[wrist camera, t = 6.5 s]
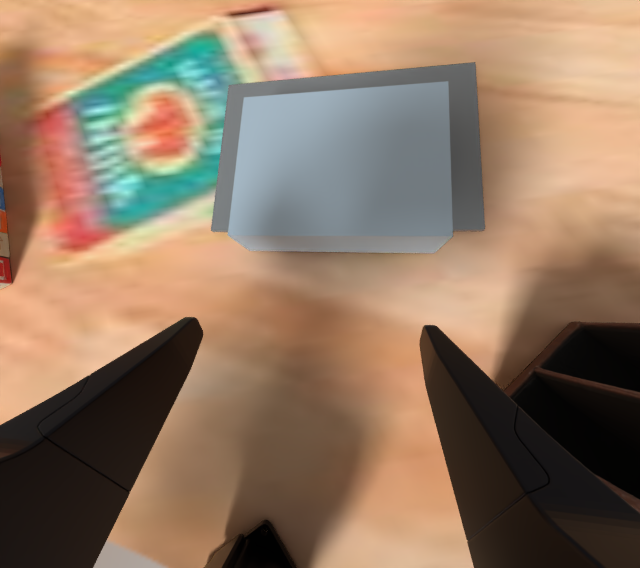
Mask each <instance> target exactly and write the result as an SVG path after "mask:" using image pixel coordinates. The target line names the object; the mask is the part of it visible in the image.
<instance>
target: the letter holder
mask: <svg viewBox="0 0 640 568" xmlns="http://www.w3.org/2000/svg"><path fill="white" fill-rule="evenodd" d="M504 392H505V393H506V394H507V395H508V396H509V397H510V398H511V399H512V400H513V401H514V402H515V403H516V404H517V407H520V408H521V409H522V410H523V411H524V412H525V413H526V414H527V415H528V416H529V417H530V418H531V419H533V420H534V421H535V422H536V423H537V424H538V425H539V426H540V427H541V428H542V429H543V430H544V431H545V432H546V433H547V434H548V435H550V436H551V437H552V438H553V439H554V440H555V441H556V442H557V443H559V444H560V445H561V446H562V447H563V448H564V449H565V450H567V451H568V452H569V453H570V454H571V455H572V456H573V457H575V458H576V459H577V460H578V461H579V462H580V463H582V464H583V465H584V466H585V467H586V468H588V469H589V470H590V471H591V472H592V473H593V474H595V475H596V476H597V477H598V478H599V479H600V480H602V481H603V482H604V483H605V484H606V485H607V486H609V487H610V488H611V489H612V490H613V491H614V492H616V493H617V494H618V495H619V496H620V497H622V498H623V499H624V500H625V501H626V502H627V503H629V504H630V505H631V506H632V507H633V508H635V509H636V510H637V511H638V512H640V323H586V322H571V323H569V325H568V326H567V327H566V328H565V329H564V330H563V331H562V332H561V333H560V334H559V335H558V336H557V337H556V338H555V339H554V340H553V341H552V342H551V343H550V344H549V345H548V346H547V347H546V348H545V350H544V351H543V352H542V353H541V354H540V355H539V356H538V357H537V358H536V359H535V360H534V361H533V362H532V363H531V364H530V365H529V366H528V367H527V368H526V369H525V370H524V371H523V372H522V373H521V374H520V375H519V376H518V377H517V378H516V379H515V380H514V381H513V382H512V383H511V384H510V385H509V386H508V387H507V388H506V389H505V390H504Z"/></svg>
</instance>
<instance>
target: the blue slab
mask: <svg viewBox="0 0 640 568" xmlns="http://www.w3.org/2000/svg"><path fill="white" fill-rule="evenodd" d="M228 236H229V237H231V238H232V239H233V240H235V241H236V242H238V243H239V244H241V245H242V246H243V247H245V248H246V249H248V250H249V251H299V252H372V253H435V252H436V251H437V250H438V249H440V248H441V247H442V246H443V245H444V244H445V243H446V242H447V241H448V240H450V239H451V238H452V237H453V220H452V186H451V153H450V119H449V86H448V81H445V82H432V83H420V84H407V85H394V86H382V87H369V88H356V89H344V90H331V91H319V92H306V93H293V94H281V95H268V96H255V97H244V100H243V109H242V117H241V126H240V134H239V143H238V152H237V160H236V169H235V177H234V186H233V194H232V203H231V211H230V220H229V228H228Z"/></svg>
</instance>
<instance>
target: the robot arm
mask: <svg viewBox="0 0 640 568" xmlns="http://www.w3.org/2000/svg"><path fill="white" fill-rule="evenodd" d="M202 338H203V330H202V328H201V326H200V324H199V322H198V320H197V319H196V318H195V317H185V318H183V319H182V320H180V321H178V322H177V323H175V324H173V325H172V326H170V327H168V328H167V329H165V330H163V331H162V332H160V333H158V334H157V335H155V336H153V337H152V338H150V339H148V340H147V341H145V342H143V343H142V344H140V345H138V346H137V347H135V348H133V349H132V350H130V351H128V352H127V353H125V354H123V355H122V356H120V357H118V358H117V359H115V360H114V361H112V362H110V363H109V364H107V365H105V366H104V367H102V368H100V369H99V370H97V371H95V372H94V373H92V374H91V375H90V376H87V377H85V378H84V379H82V380H80V381H79V382H77V383H75V384H74V385H72V386H70V387H68V388H67V389H65V390H63V391H62V392H60V393H58V394H56V395H55V396H53V397H51V398H49V399H47V400H46V401H44V402H42V403H40V404H38V405H37V406H35V407H33V408H31V409H29V410H27V411H26V412H24V413H22V414H20V415H18V416H16V417H15V418H13V419H11V420H9V421H7V422H5V423H3V424H2V425H0V568H93V567H94V564H95V563H96V560H97V558H98V556H99V554H100V552H101V550H102V548H103V546H104V544H105V542H106V540H107V538H108V536H109V534H110V532H111V530H112V528H113V526H114V524H115V522H116V520H117V518H118V516H119V514H120V512H121V510H122V508H123V506H124V504H125V502H126V500H127V498H128V496H129V494H130V491H131V489H132V487H133V485H134V483H135V481H136V479H137V477H138V475H139V473H140V471H141V469H142V467H143V465H144V463H145V461H146V459H147V457H148V455H149V453H150V451H151V449H152V447H153V445H154V443H155V441H156V439H157V437H158V435H159V433H160V431H161V429H162V427H163V425H164V422H165V420H166V418H167V416H168V414H169V412H170V410H171V408H172V406H173V404H174V402H175V400H176V398H177V396H178V394H179V392H180V390H181V388H182V386H183V384H184V382H185V380H186V378H187V376H188V374H189V372H190V369H191V367H192V365H193V362H194V359H195V357H196V354H197V351H198V349H199V346H200V343H201V340H202ZM420 351H421V358H422V365H423V372H424V379H425V385H426V389H427V393H428V397H429V401H430V405H431V408H432V412H433V416H434V420H435V423H436V427H437V431H438V434H439V438H440V442H441V446H442V449H443V453H444V457H445V460H446V464H447V468H448V472H449V475H450V479H451V483H452V487H453V490H454V494H455V498H456V501H457V505H458V509H459V513H460V516H461V520H462V524H463V528H464V531H465V535H466V539H467V540H468V542H467V543H468V547H469V550H470V554H471V558H472V562H473V565H474V568H640V512H638V511H637V510H636V509H635V508H633V507H632V506H631V505H630V504H629V503H627V502H626V501H625V500H624V499H623V498H622V497H620V496H619V495H618V494H617V493H616V492H614V491H613V490H612V489H611V488H610V487H609V486H607V485H606V484H605V483H604V482H603V481H602V480H600V479H599V478H598V477H597V476H596V475H595V474H593V473H592V472H591V471H590V470H589V469H588V468H586V467H585V466H584V465H583V464H582V463H580V462H579V461H578V460H577V459H576V458H575V457H573V456H572V455H571V454H570V453H569V452H568V451H567V450H565V449H564V448H563V447H562V446H561V445H560V444H559V443H557V442H556V441H555V440H554V439H553V438H552V437H551V436H550V435H548V434H547V433H546V432H545V431H544V430H543V429H542V428H541V427H540V426H539V425H538V424H537V423H536V422H535V421H534V420H533V419H531V418H530V417H529V416H528V415H527V414H526V413H525V412H524V411H523V410H522V409H521V408H520V407H517V404H516V403H515V402H514V401H513V400H512V399H511V398H510V397H509V396H508V395H507V394H506V393H505V392H504V391H503V390H502V389H501V388H500V387H499V386H498V385H496V384H495V383H494V382H493V381H492V380H491V379H490V378H489V377H488V376H487V375H486V374H485V373H484V372H483V371H482V370H481V369H480V368H479V367H478V366H477V365H476V364H475V363H474V362H473V361H472V360H471V359H470V358H469V357H468V356H467V355H466V354H465V353H464V352H463V351H462V350H461V349H460V348H459V347H458V346H457V345H456V344H454V343H453V342H452V341H451V340H450V339H449V338H448V337H447V336H446V335H445V334H444V333H443V332H442V331H441V330H440V329H439V328H438V327H437V326H435V325H425V326H424V327H423V329H422V333H421V338H420ZM263 528H266V529H267V531H264V529H263ZM204 568H296V566H295V564H294V562H293V561H292V559H291V557H290V555H289V554H288V552H287V550H286V548H285V547H284V545H283V543H282V541H281V540H280V538H279V536H278V534H277V533H276V531H275V529H274V527H273V526H272V524H271V523H270V521H268V520H264V521H262V522H261V523H260V524H258V525H257V526H256V527H254V528H253V529H252V530H251V531H249V532H248V533H247V534H245V535H243V534H239V535H238V536H237V537H235V538H234V539H233V540H231V541H230V542H229V543H227V544H226V545H225V546H224V547H222V548H221V549H220V550H218V551H217V552H216V553H215V554H214V555H213V557H212V559H211V560H210V562H209V563H208V564H206V566H205V567H204Z"/></svg>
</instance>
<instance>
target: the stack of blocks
mask: <svg viewBox="0 0 640 568" xmlns="http://www.w3.org/2000/svg"><path fill="white" fill-rule="evenodd" d="M7 233H8V229H7V217H6V211H5V202H4V192H3V183H2V173H1V157H0V289H2V288H5V287H7V286H9V285H11V284H12V280H11V271H10V263H9V259H8V258H10V251H9V240H8V235H7Z"/></svg>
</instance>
